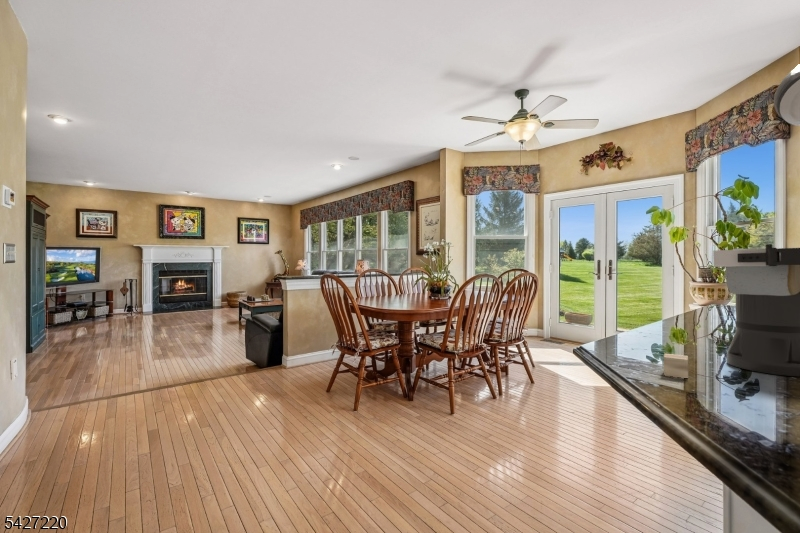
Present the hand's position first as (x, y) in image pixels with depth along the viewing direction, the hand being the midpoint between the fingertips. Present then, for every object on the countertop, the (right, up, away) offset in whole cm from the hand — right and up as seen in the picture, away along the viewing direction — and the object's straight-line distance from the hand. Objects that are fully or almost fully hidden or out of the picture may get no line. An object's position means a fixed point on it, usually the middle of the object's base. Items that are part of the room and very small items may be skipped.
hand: (723, 258), depth 65 cm
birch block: (+2, -24, +13) cm, 28 cm away
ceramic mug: (+4, -6, -3) cm, 8 cm away
